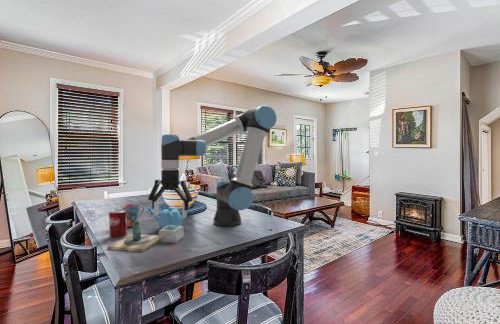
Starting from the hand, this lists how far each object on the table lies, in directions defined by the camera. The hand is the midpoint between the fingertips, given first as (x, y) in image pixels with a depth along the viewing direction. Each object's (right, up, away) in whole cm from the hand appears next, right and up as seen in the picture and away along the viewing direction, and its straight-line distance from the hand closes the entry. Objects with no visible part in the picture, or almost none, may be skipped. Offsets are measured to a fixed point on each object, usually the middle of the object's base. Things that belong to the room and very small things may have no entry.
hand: (170, 216), depth 121 cm
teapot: (-4, -10, +17) cm, 20 cm away
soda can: (-25, -10, +4) cm, 28 cm away
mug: (-26, -9, +23) cm, 36 cm away
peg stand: (-13, -11, -5) cm, 17 cm away
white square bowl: (0, -10, +1) cm, 10 cm away
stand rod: (0, -10, +1) cm, 10 cm away
